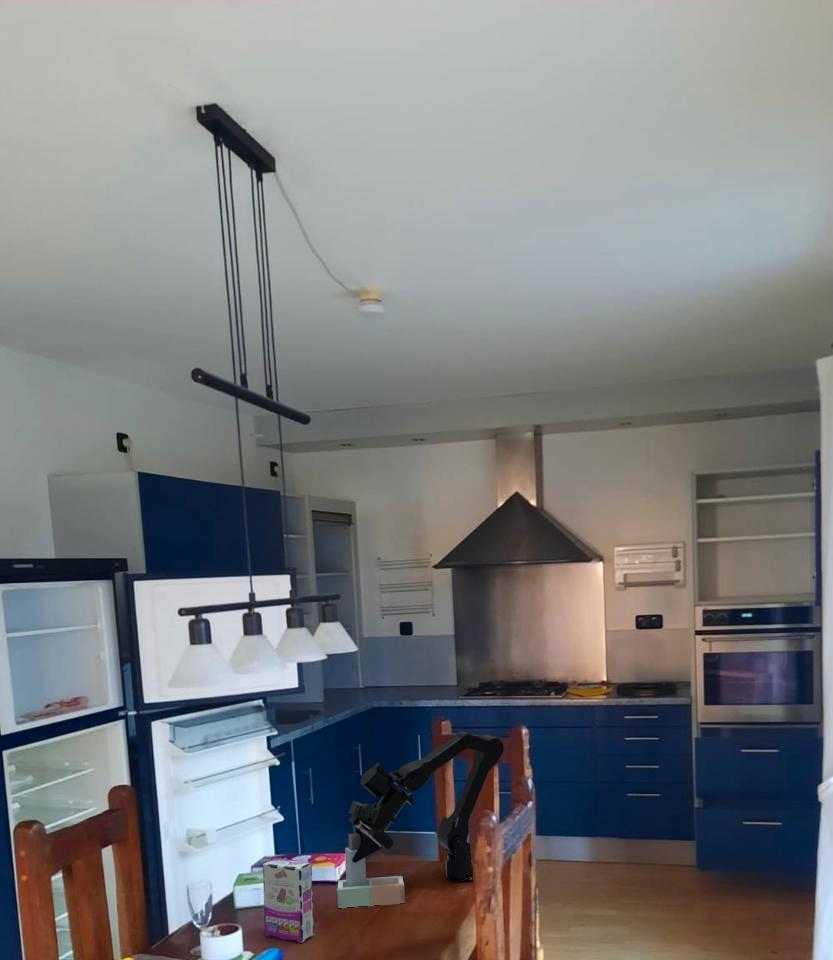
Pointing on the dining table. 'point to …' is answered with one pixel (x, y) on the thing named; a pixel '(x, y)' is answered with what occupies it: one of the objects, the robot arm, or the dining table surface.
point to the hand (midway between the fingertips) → (350, 859)
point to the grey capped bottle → (354, 870)
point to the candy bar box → (288, 900)
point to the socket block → (372, 892)
